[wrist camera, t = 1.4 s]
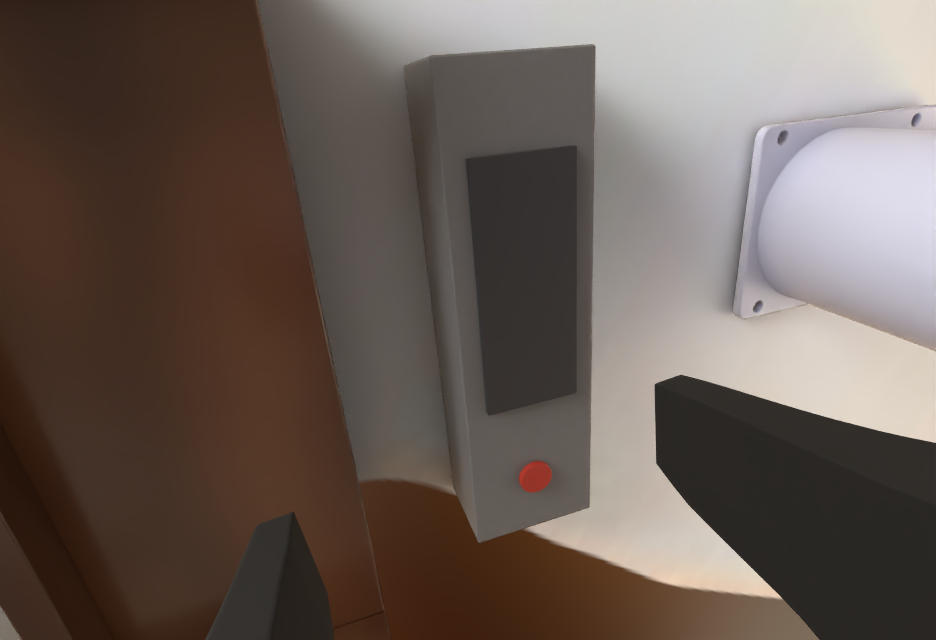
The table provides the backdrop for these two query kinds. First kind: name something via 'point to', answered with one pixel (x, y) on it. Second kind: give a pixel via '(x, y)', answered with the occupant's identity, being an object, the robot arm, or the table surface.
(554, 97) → the remote
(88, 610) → the wooden tray
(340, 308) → the table surface
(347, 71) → the table surface
